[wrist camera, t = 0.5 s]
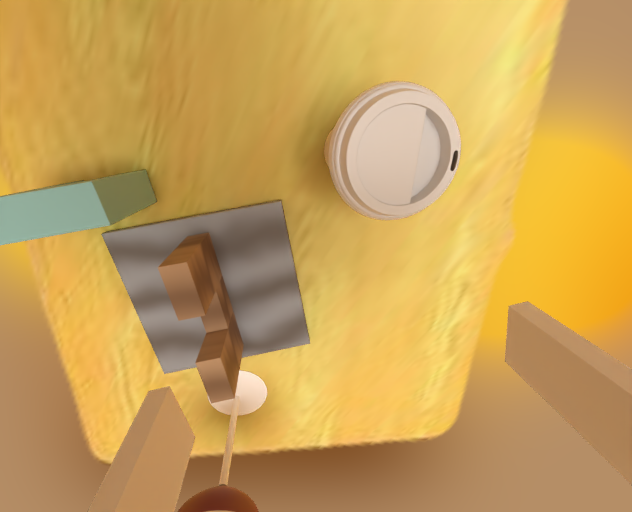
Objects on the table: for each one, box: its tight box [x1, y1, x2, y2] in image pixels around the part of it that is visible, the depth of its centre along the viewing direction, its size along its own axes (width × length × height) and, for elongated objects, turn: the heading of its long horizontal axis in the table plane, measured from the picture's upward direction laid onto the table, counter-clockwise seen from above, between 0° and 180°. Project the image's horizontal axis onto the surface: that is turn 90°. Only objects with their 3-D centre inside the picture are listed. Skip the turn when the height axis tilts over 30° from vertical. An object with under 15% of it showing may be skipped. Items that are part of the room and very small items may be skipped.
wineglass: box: [178, 370, 267, 512], centre depth 34 cm, size 9×10×23 cm
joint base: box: [102, 200, 310, 403], centre depth 33 cm, size 20×20×10 cm
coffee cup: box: [324, 81, 461, 220], centre depth 27 cm, size 10×10×15 cm
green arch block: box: [0, 170, 157, 245], centre depth 28 cm, size 4×9×10 cm, turn 99°
